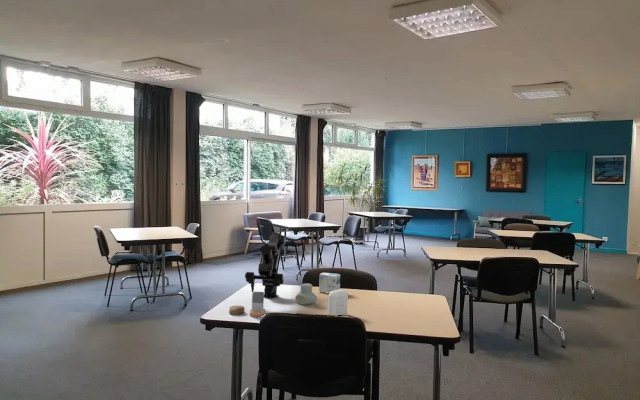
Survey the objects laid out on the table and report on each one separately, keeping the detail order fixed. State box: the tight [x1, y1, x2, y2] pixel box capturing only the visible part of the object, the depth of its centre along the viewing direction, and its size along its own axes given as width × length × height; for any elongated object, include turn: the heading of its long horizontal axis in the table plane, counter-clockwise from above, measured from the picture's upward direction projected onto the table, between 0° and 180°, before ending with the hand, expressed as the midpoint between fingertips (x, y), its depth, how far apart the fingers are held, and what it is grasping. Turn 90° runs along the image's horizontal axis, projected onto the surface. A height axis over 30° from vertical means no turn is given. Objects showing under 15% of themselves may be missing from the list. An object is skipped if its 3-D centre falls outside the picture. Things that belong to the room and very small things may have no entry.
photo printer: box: [326, 288, 349, 316], centre depth 208 cm, size 10×4×12 cm, turn 123°
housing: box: [251, 291, 265, 312], centre depth 203 cm, size 4×4×8 cm
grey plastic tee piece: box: [295, 283, 317, 306], centre depth 225 cm, size 11×8×10 cm
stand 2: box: [249, 308, 266, 319], centre depth 203 cm, size 7×7×2 cm
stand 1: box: [228, 304, 246, 316], centre depth 205 cm, size 7×7×2 cm
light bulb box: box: [318, 272, 341, 292], centre depth 249 cm, size 11×7×11 cm, turn 69°
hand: (261, 292), depth 211 cm, fingers open, 9 cm apart
